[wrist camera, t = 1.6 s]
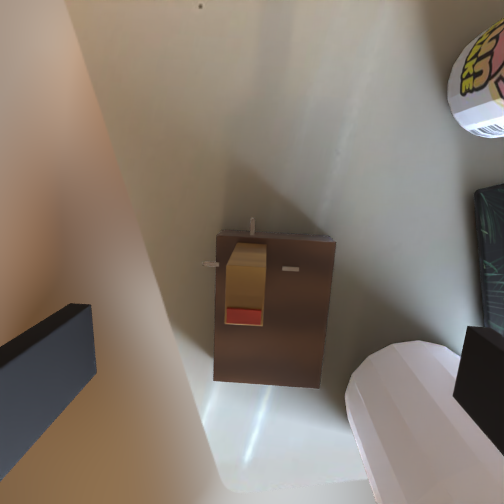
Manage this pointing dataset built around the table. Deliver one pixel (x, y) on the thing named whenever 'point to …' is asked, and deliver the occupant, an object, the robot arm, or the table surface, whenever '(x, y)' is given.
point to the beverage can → (480, 84)
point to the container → (420, 430)
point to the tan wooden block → (246, 285)
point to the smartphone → (491, 253)
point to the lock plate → (277, 311)
